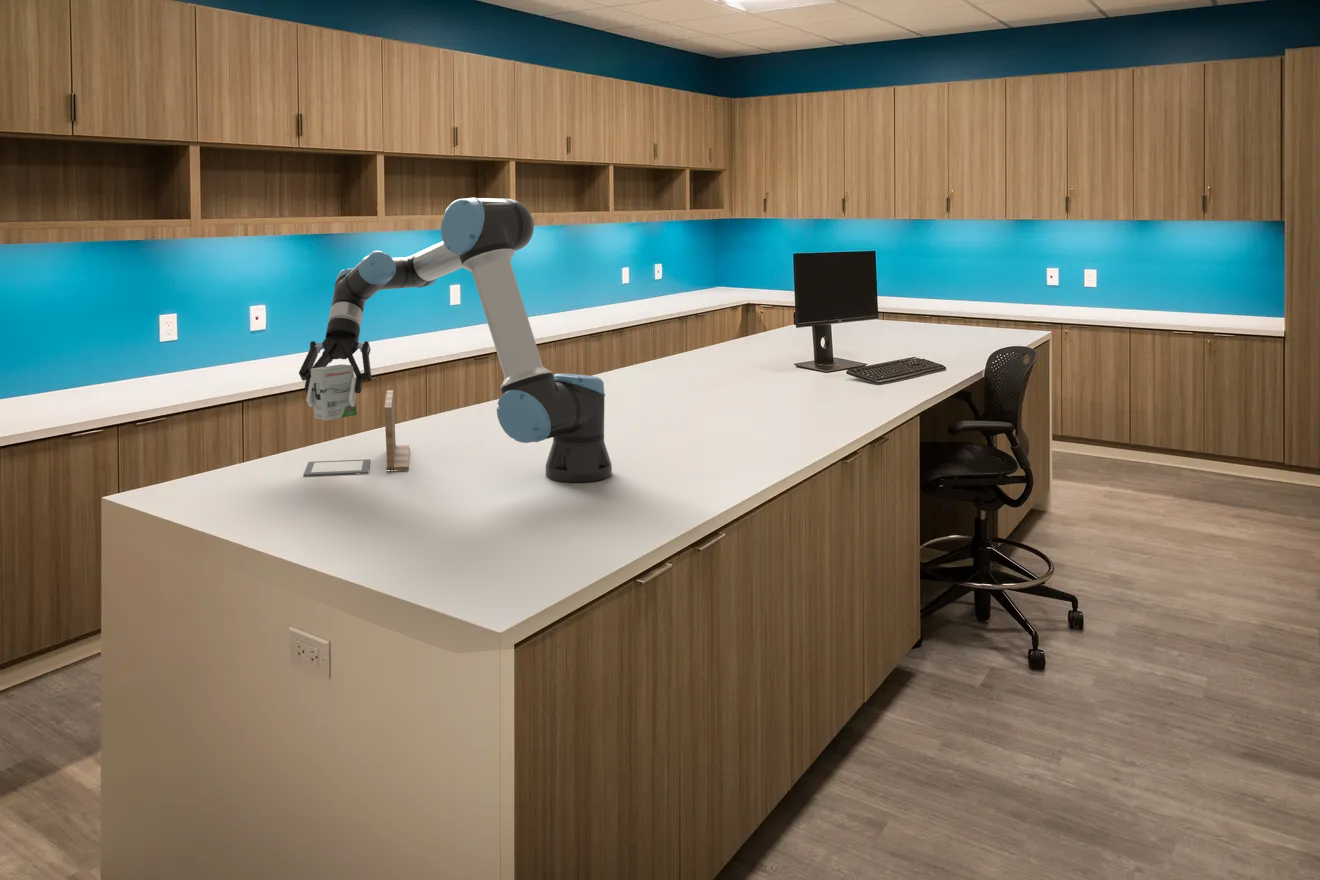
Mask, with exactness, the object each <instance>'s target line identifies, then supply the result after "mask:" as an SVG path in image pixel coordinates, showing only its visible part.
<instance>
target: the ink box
mask: <svg viewBox="0 0 1320 880" xmlns="http://www.w3.org/2000/svg"><path fill="white" fill-rule="evenodd" d="M354 374H355V373H354V371H353V366H351V364H334V365H327V366H326V367H320V368H312V369H311V380H312V392H313V413H314V415H313V418H314V419H318V420H322V421H325V422H327V421H328V422H329V421H331V420H337V419H343V418H348V417H354V416H357V415H358V414H357V404H356V403H357V402H356V401H357V400H356V401H355V407H351V405H350V402H349V395H350V389H351V383H352V377H355V375H354Z"/></svg>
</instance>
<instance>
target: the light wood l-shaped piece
mask: <svg viewBox="0 0 1320 880" xmlns="http://www.w3.org/2000/svg"><path fill="white" fill-rule="evenodd" d="M394 399H395V398H394V390H393V389H392V390H391V389H390V390H386V395H385V400H384V401H385V402H384V406H383V407H384V425H385V429H384V430H385V447H386V466H385V470H390V471H391V470H393V471H391V472H395V471H394V470H410V444H400V445H399V444H397V443H396V440H397V439H396V421H395V400H394Z"/></svg>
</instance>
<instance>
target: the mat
mask: <svg viewBox="0 0 1320 880" xmlns="http://www.w3.org/2000/svg"><path fill="white" fill-rule="evenodd" d="M306 464H307V465H306V466H305V470H304V471H303V477H316V476H315V475H323V476H341V475H340V474H347V475H357V474H356V473H368V474H369V471H368V470H370V465H371V459H370V458H369V459H368V458H367V459H366V458H365V459H346V460H345V459H344V460H343V459H342V460H319V461H308V462H307V463H306ZM369 464H370V465H369Z"/></svg>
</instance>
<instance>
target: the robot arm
mask: <svg viewBox="0 0 1320 880" xmlns="http://www.w3.org/2000/svg"><path fill="white" fill-rule="evenodd" d="M534 227H535V225H534V220H533V216H532V214H531V212H530V210H529V209H528V208H527V207H526V206H525V205H524V204H522V203H521V202H520V201H517V200H515V199H513V198H505V197H502V198H488V197H487V198H485V197H481V198H479V197H478V198H477V197H475V196H474V197H472V196H471V197H468V198H459V199H456V200H454V201H452V202H451V203H450V204H449V205H448V206H447V208H446V209H445V211H444V213H443V217H442V219H441V223H440V234H441V240H442V241H441V242H438V243H436V244H433V245H431V246H429V247H427V248H425V249H423V250H421V251H418V252H417V253H414V254H411V255H409V256H405V257H391V255H390V254H388V253H385V252H383V251H381V250H374V251H372V252H370V253H369V254H367V255H366V256H364V257H363V258H362V259H361V260H360V262H359V263H358V264H356V266H354V267H353V268H347V269H342V270H340V272H339V273H338V275H337V277H336V280H335V283H334V288H333V289H334V290H333V294H332V295H333V296H332V301H331V307H330V312H329V317H328V323H327V327H326V333H325V339H324V340H323V341H322V342H318V343H316V341H311V342H310V343H309V345H310V346H309V351H308V352H307V354H306V356H305V359H304V361H303V363H302V365H301V367H300V369H299V371H298V374H299V377H300V379H301V381H303V382H304V381H305V384H304V390H305V393H306V394H307V395H306V398H305V399H306V403H307V405H308V407H309V408H310V407H311V408H312V407H313V408H314V405H313V392H312V380H311V369H312V368H320V367H326V366H329V364H330V363H332V362H333V361H334V360H348V362H349V365H351V366H353V373H354V374H355V375H354V377H352V383H351V389H350V395H349V402H350V405H351V407H355V401H357V400H356V399H357V396H358V395H357V394H360V393H361V392H362V389H363V384H364V382H365V381H368V382H369V381H371V380H372V371H371V363H370V353H371V346H370V343H369V341H366V340H365V341H364V342H359V339H360V333H361V328H362V327H361V325H362V321H363V320H362V319H363V314H364V310H365V309H364V307H365V304H366V302H367V301H368V300H369V299H371V298H372V297H373V296H374V295H376V293H377V292H378V291H381V290H393V289H394V290H396V289H397V290H399V289H407V288H408V289H409V288H410V289H411V288H424V287H430V286H432V285H433V284H435V282H436V281H437V279H438V278H441V277H444V276H446V275H449V274H451V273H453V272H455V271H458V270H460V269H464V270H467V271H468V272H470V273H471V275H472V277H473V280H474V284H475V287H476V290H477V293H478V296H479V300H480V303H481V306H482V309H483V311H484V312H483V313H484V315H485V319H486V322H487V325H488V326H487V327H488V328H489V332H490V335H491V338H492V341H493V345H494V347H495V348H494V349H495V351H496V354H497V357H498V360H499V364H500V366H501V370H502V373H503V377H504V379H503V381H502V383H501V385H500V391H501V394H502V395H500V398H499V399H498V401H497V405H498V406H497V407H496V415H497V420H498V423H499V425H500V427H501V429H502V430H503V432H505V434H507V436H508V437H509V438H511V439H513V440H514V441H516V442H519V443H521V444H522V443H523V444H528V443H529V444H530V443H539V442H542V441H544V440H548V439H552V443H551V444H552V445H551V447H550V450H549V453H548V456H547V459H546V463H545V476H546V477H547V478H549V479H551V480H553V481H558V482H565V483H590V482H597V481H603V480H606V479H608V478H610V477H611V476H612V475H613V472H612V471H613V466H612V462H611V458H610V456H609V452H608V449H607V446H606V442H605V397H606V394H605V384H604V381H603V380H602V379H601V378H600V377H599V376H593V375H586V374H577V373H555V374H553V371H551V370H550V369H548V368H546V367H544V365H543V362H542V359H541V356H540V352H539V348H538V346H537V343H536V340H535V336H534V333H533V329H532V327H531V324H530V321H529V317H528V314H527V312H526V308H525V304H524V302H523V298H522V295H521V291H520V288H519V284H518V282H517V279H516V276H515V273H514V269H513V266H512V263H511V261H512V259H513V257H514V255H515V252H516V251H519V250H521V249H523V248H524V247H526V246H527V245H528V244H529V242H530V241H531V240H532V237H533V234H534ZM322 349H323V351H322V354H321V356H320V357H319V358H318V355H319V354H320V352H321V350H322ZM358 350H359V351H360V352H361V357H362V365H363V372H362V373H361V370H360V368H359V366H358V364H357V362H356V360H355V357H354V354H356V352H357V351H358ZM317 358H318V359H317ZM316 360H317V361H316Z"/></svg>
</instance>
